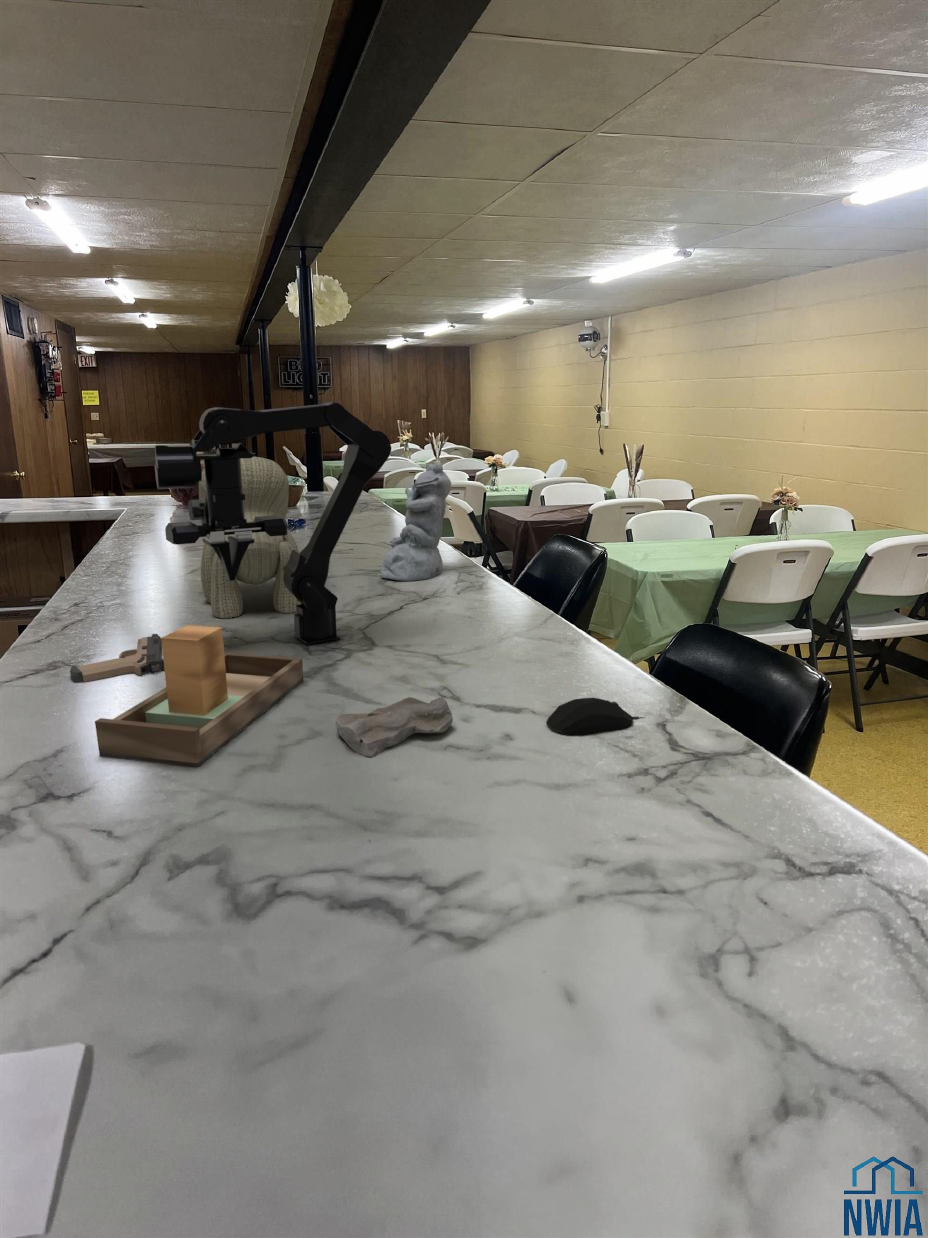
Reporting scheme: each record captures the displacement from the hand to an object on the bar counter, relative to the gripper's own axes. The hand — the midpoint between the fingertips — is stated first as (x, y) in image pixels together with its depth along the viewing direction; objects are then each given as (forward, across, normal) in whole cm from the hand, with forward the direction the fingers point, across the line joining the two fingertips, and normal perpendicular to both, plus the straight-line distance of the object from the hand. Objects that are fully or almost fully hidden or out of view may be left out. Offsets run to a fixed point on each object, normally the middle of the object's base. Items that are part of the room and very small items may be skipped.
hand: (231, 580), depth 130 cm
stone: (+13, -6, +46) cm, 48 cm away
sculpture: (+12, -56, -37) cm, 68 cm away
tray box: (+12, +11, +27) cm, 31 cm away
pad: (+12, +14, +30) cm, 35 cm away
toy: (+12, -13, -31) cm, 36 cm away
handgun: (+13, +18, -4) cm, 22 cm away
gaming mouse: (+13, -31, +58) cm, 67 cm away
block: (+10, +14, +30) cm, 34 cm away
